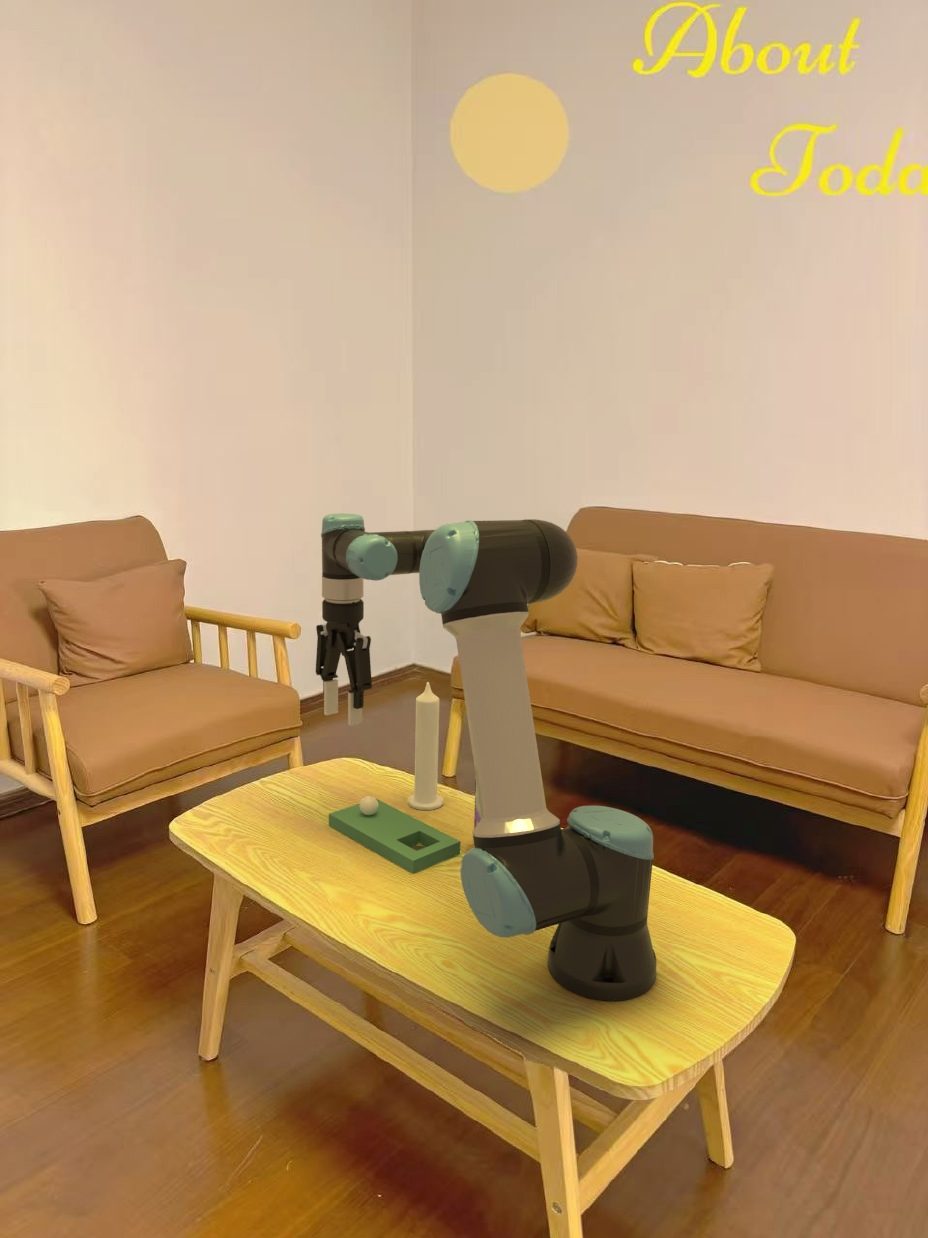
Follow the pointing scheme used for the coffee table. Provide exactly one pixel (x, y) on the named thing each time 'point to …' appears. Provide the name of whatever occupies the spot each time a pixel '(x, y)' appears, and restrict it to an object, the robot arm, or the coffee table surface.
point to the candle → (426, 752)
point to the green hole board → (396, 836)
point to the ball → (368, 805)
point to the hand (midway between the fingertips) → (343, 718)
